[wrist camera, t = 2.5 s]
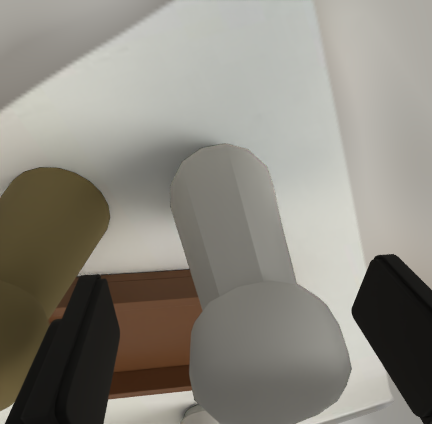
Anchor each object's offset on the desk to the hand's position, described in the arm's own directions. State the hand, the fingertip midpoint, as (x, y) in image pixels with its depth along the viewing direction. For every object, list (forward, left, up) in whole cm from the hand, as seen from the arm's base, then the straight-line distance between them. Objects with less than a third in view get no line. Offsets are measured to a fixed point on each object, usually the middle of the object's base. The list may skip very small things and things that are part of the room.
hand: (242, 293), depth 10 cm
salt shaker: (0, 0, -9) cm, 9 cm away
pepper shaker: (+10, +2, -9) cm, 14 cm away
